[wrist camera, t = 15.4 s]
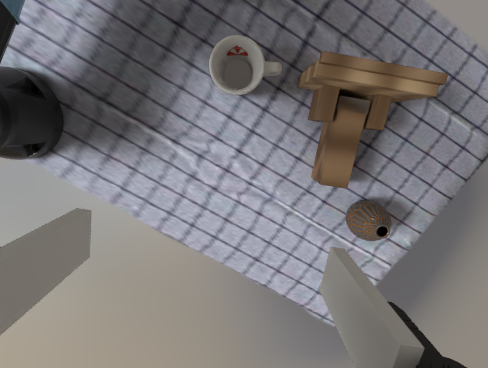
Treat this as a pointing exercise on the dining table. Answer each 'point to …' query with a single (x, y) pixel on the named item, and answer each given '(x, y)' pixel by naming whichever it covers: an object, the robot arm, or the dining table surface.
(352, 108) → the brown wooden block
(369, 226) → the vase
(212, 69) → the cup
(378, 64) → the headboard
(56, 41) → the dining table surface
